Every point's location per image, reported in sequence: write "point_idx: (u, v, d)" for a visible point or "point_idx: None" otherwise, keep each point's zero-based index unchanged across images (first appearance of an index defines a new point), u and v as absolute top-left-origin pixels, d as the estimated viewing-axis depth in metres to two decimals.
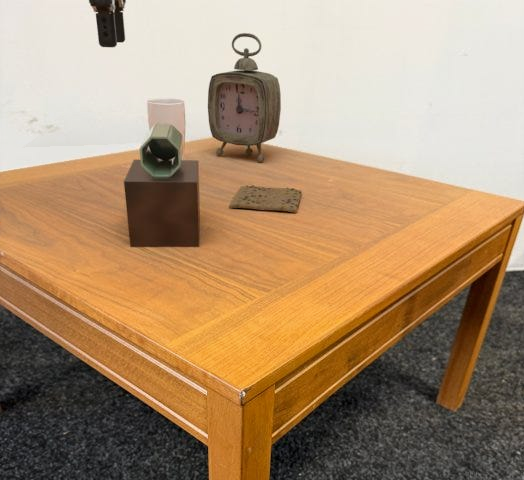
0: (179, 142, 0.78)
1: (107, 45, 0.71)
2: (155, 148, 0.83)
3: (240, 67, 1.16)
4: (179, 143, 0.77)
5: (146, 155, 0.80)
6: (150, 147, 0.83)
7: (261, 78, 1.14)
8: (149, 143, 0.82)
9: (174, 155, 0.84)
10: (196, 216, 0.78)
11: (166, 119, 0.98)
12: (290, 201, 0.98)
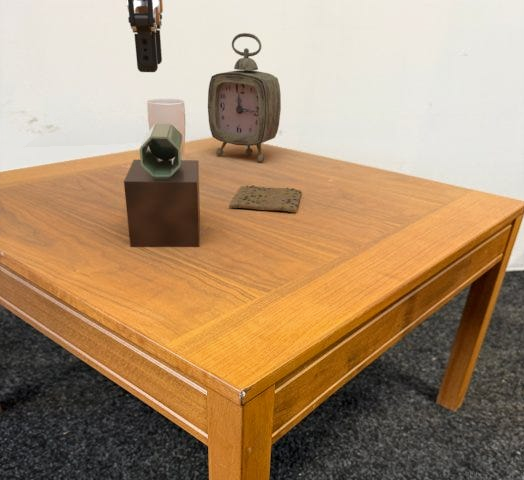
0: (179, 142, 0.78)
1: (147, 70, 0.61)
2: (155, 148, 0.83)
3: (240, 67, 1.16)
4: (179, 143, 0.77)
5: (146, 155, 0.80)
6: (150, 147, 0.83)
7: (261, 78, 1.14)
8: (149, 143, 0.82)
9: (174, 155, 0.84)
10: (196, 216, 0.78)
11: (166, 119, 0.98)
12: (290, 201, 0.98)
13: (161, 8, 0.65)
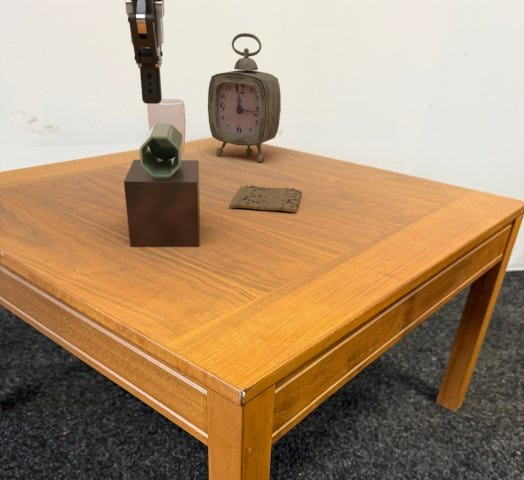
0: (179, 142, 0.78)
1: (151, 101, 0.66)
2: (155, 148, 0.83)
3: (240, 67, 1.16)
4: (179, 143, 0.77)
5: (146, 155, 0.80)
6: (150, 147, 0.83)
7: (261, 78, 1.14)
8: (149, 143, 0.82)
9: (174, 155, 0.84)
10: (196, 216, 0.78)
11: (166, 119, 0.98)
12: (290, 201, 0.98)
13: (161, 37, 0.63)
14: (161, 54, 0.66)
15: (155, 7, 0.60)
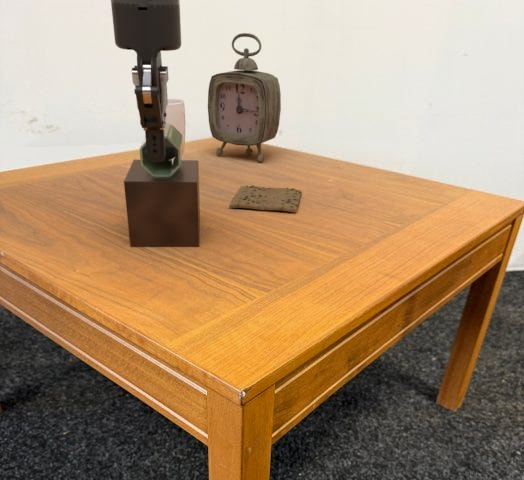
0: (179, 142, 0.78)
1: (155, 160, 0.70)
2: None
3: (240, 67, 1.16)
4: (179, 143, 0.77)
5: (146, 155, 0.80)
6: None
7: (261, 78, 1.14)
8: None
9: (174, 155, 0.84)
10: (196, 216, 0.78)
11: (166, 119, 0.98)
12: (290, 201, 0.98)
13: (166, 102, 0.67)
14: (165, 115, 0.70)
15: (160, 77, 0.64)
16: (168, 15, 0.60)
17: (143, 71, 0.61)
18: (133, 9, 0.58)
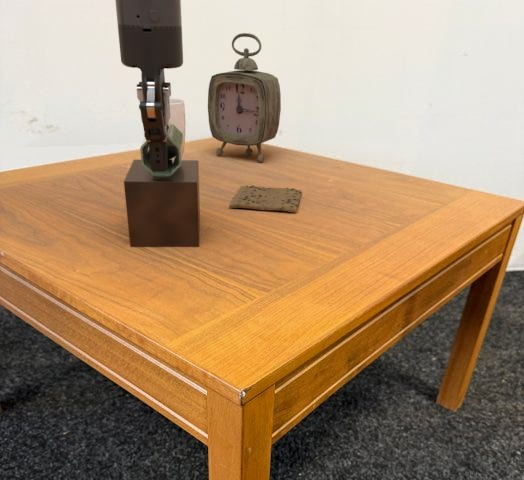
0: (179, 141, 0.78)
1: (158, 170, 0.74)
2: None
3: (240, 67, 1.16)
4: (179, 142, 0.78)
5: (147, 154, 0.81)
6: None
7: (261, 78, 1.14)
8: None
9: (175, 154, 0.84)
10: (196, 216, 0.78)
11: None
12: (290, 201, 0.98)
13: (168, 115, 0.71)
14: (168, 128, 0.74)
15: (163, 93, 0.68)
16: (171, 36, 0.64)
17: (147, 88, 0.65)
18: (138, 30, 0.62)
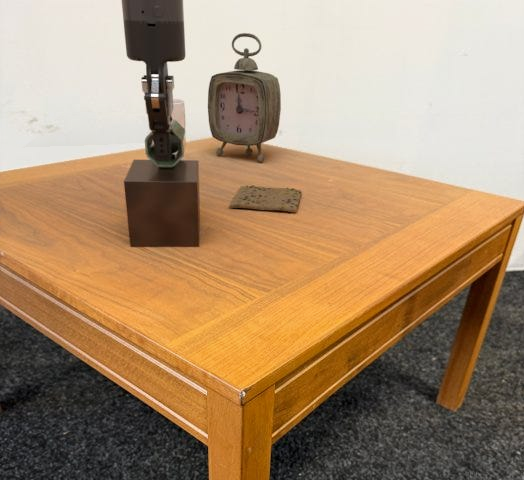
0: (182, 134, 0.82)
1: (162, 159, 0.77)
2: None
3: (240, 67, 1.16)
4: (182, 135, 0.81)
5: (151, 148, 0.84)
6: None
7: (261, 78, 1.14)
8: None
9: (177, 149, 0.88)
10: (196, 216, 0.78)
11: None
12: (290, 201, 0.98)
13: (171, 107, 0.75)
14: (171, 119, 0.77)
15: (166, 85, 0.71)
16: (174, 30, 0.67)
17: (152, 80, 0.69)
18: (143, 25, 0.66)
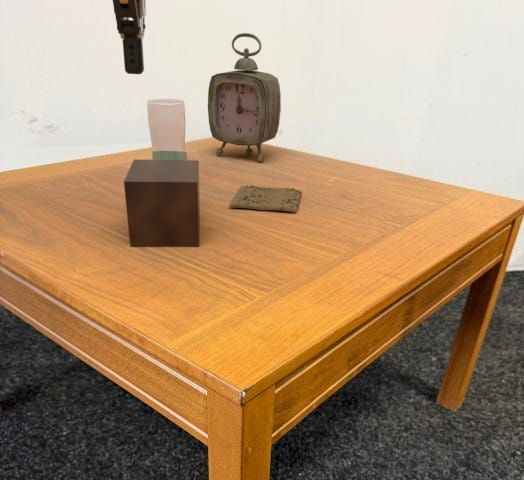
0: None
1: (133, 72, 0.68)
2: None
3: (240, 67, 1.16)
4: None
5: None
6: None
7: (261, 78, 1.14)
8: None
9: None
10: (196, 216, 0.78)
11: (166, 119, 0.98)
12: (290, 201, 0.98)
13: (144, 9, 0.66)
14: (144, 26, 0.68)
15: None
16: None
17: None
18: None
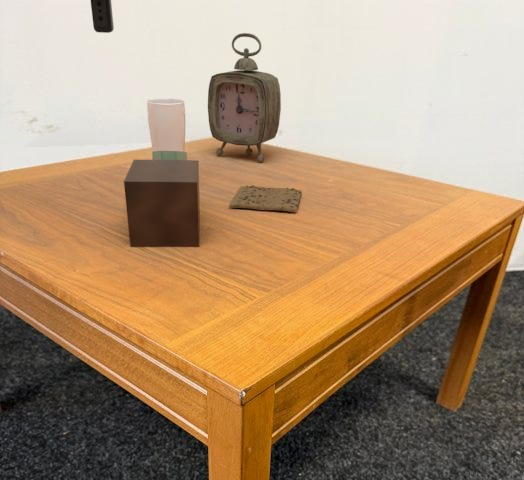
0: None
1: (102, 30, 0.67)
2: None
3: (240, 67, 1.16)
4: None
5: None
6: None
7: (261, 78, 1.14)
8: None
9: None
10: (196, 216, 0.78)
11: (166, 119, 0.98)
12: (290, 201, 0.98)
13: None
14: None
15: None
16: None
17: None
18: None
